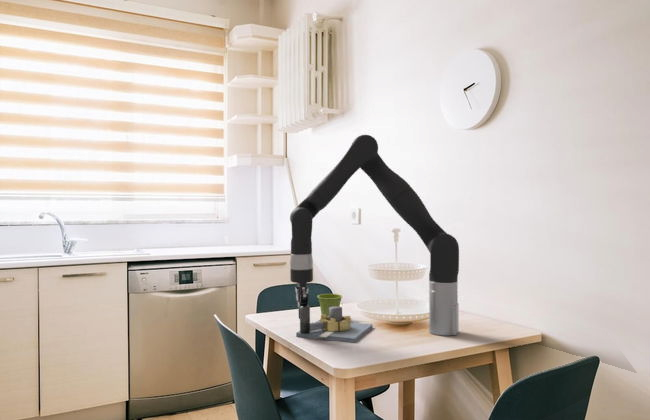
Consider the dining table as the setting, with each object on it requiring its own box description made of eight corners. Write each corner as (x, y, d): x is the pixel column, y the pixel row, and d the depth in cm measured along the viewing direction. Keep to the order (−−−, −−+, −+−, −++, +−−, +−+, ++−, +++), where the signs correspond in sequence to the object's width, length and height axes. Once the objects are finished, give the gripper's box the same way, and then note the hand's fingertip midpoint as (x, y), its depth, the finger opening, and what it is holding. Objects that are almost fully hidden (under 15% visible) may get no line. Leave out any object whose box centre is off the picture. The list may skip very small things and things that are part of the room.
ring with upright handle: (339, 322, 171) (339, 298, 171) (356, 328, 163) (356, 303, 163) (293, 330, 161) (293, 304, 161) (308, 336, 153) (308, 309, 153)
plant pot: (342, 321, 180) (342, 298, 180) (317, 321, 180) (316, 298, 180) (342, 316, 189) (342, 293, 189) (317, 316, 189) (317, 293, 189)
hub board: (372, 327, 170) (372, 304, 170) (352, 344, 149) (352, 317, 149) (319, 323, 177) (319, 300, 177) (293, 337, 157) (293, 312, 157)
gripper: (316, 269, 157) (316, 323, 157) (309, 264, 170) (310, 314, 170) (293, 270, 155) (293, 324, 156) (288, 265, 168) (288, 315, 169)
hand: (302, 318), depth 163 cm, fingers closed
